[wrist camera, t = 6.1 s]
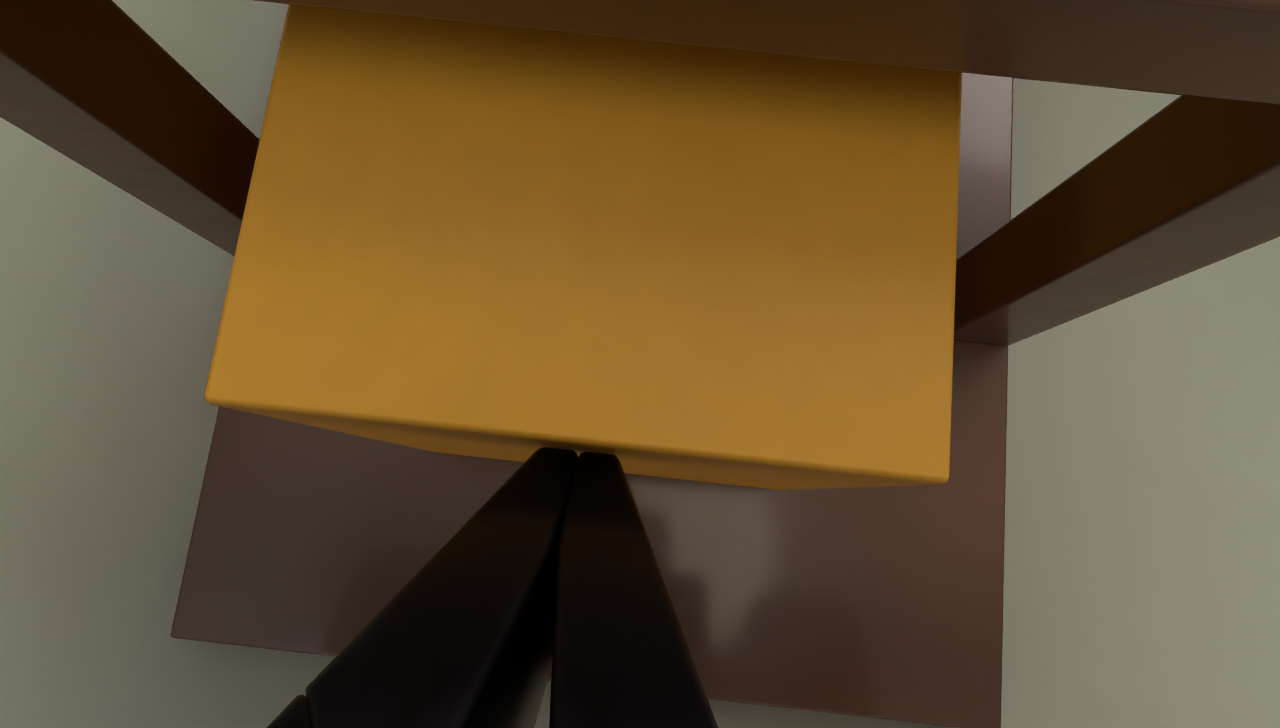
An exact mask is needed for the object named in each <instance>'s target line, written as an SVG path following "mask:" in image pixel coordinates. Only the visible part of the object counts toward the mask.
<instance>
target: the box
mask: <svg viewBox="0 0 1280 728" xmlns="http://www.w3.org/2000/svg"><path fill="white" fill-rule="evenodd" d="M961 98H962V73H961V72H951V71H941V70H932V69H922V68H912V67H902V66H892V65H883V64H873V63H863V62H853V61H843V60H834V59H824V58H814V57H804V56H794V55H785V54H775V53H765V52H755V51H745V50H736V49H726V48H716V47H706V46H696V45H686V44H677V43H667V42H657V41H647V40H637V39H628V38H618V37H608V36H598V35H588V34H579V33H569V32H559V31H549V30H539V29H530V28H520V27H510V26H500V25H490V24H481V23H471V22H461V21H451V20H441V19H432V18H422V17H412V16H402V15H392V14H383V13H373V12H363V11H353V10H343V9H334V8H324V7H314V6H304V5H294V4H289V7H288V12H287V17H286V21H285V26H284V30H283V35H282V40H281V44H280V49H279V53H278V58H277V63H276V67H275V72H274V77H273V81H272V86H271V90H270V95H269V100H268V104H267V109H266V113H265V118H264V123H263V127H262V132H261V136H260V141H259V146H258V150H257V155H256V160H255V164H254V169H253V173H252V178H251V183H250V187H249V192H248V196H247V201H246V206H245V210H244V215H243V220H242V224H241V229H240V233H239V238H238V243H237V247H236V252H235V256H234V261H233V266H232V270H231V275H230V280H229V284H228V289H227V293H226V298H225V303H224V307H223V312H222V316H221V321H220V326H219V330H218V335H217V339H216V344H215V349H214V353H213V358H212V363H211V367H210V372H209V376H208V381H207V386H206V390H205V400H206V401H207V402H208V403H210V404H212V405H216V406H221V407H226V408H231V409H235V410H240V411H245V412H249V413H254V414H259V415H263V416H268V417H273V418H277V419H282V420H287V421H292V422H296V423H301V424H306V425H310V426H315V427H320V428H324V429H329V430H334V431H338V432H343V433H348V434H352V435H357V436H362V437H367V438H371V439H376V440H381V441H385V442H390V443H395V444H399V445H404V446H409V447H413V448H418V449H423V450H427V451H432V452H437V453H446V454H455V455H464V456H473V457H483V458H492V459H501V460H510V461H519V462H526V461H527V460H528V459H529V458H530V457H531V455H532V454H533V453H534V452H535V451H536V450H538V449H539V448H541V447H552V448H561V449H570V450H574V451H575V452H576V453H577V455H578V456H579V455H580V454H581V453H582V452H584V451H588V452H597V453H606V454H613V455H616V456H617V457H618V459H619V460H620V462H621V465H622V468H623V470H624V473H628V474H637V475H646V476H655V477H664V478H673V479H683V480H692V481H701V482H710V483H719V484H728V485H737V486H746V487H755V488H764V489H773V490H791V489H820V488H849V487H878V486H907V485H936V484H943V483H946V482H947V481H948V478H949V464H950V434H951V403H952V373H953V342H954V312H955V281H956V251H957V220H958V190H959V159H960V129H961Z"/></svg>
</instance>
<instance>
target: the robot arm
mask: <svg viewBox="0 0 1280 728" xmlns="http://www.w3.org/2000/svg"><path fill="white" fill-rule="evenodd" d="M551 664H552V677H551V701H550V726H549V728H718V727H717V724H716V721H715V718H714V716H713V713H712V710H711V708H710V705H709V702H708V699H707V697H706V694H705V691H704V688H703V686H702V683H701V680H700V678H699V675H698V672H697V669H696V667H695V664H694V661H693V659H692V656H691V653H690V650H689V648H688V645H687V642H686V639H685V637H684V634H683V631H682V629H681V626H680V623H679V620H678V618H677V615H676V612H675V609H674V607H673V604H672V601H671V599H670V596H669V593H668V590H667V588H666V585H665V582H664V579H663V577H662V574H661V571H660V569H659V566H658V563H657V560H656V558H655V555H654V552H653V550H652V547H651V544H650V541H649V539H648V536H647V533H646V530H645V528H644V525H643V522H642V520H641V517H640V514H639V511H638V509H637V506H636V503H635V500H634V498H633V495H632V492H631V490H630V487H629V484H628V481H627V479H626V476H625V473H624V470H623V468H622V465H621V462H620V460H619V459H618V457H617V456H616V455H613V454H606V453H597V452H588V451H584V452H582V453H581V454H580V455H579V456H578V455H577V453H576V452H575V451H574V450H570V449H561V448H552V447H541V448H539V449H538V450H536V451H535V452H534V453H533V454H532V455H531V457H530V458H529V459H528V460H527V461H526V462H525V463H524V464H523V465H522V466H521V467H520V468H519V469H518V470H517V471H516V472H515V473H514V474H513V475H512V476H511V477H510V478H509V479H508V480H507V481H506V482H505V483H504V484H503V485H502V486H501V487H500V488H499V489H498V490H497V492H496V493H495V494H494V495H493V496H492V497H491V498H490V499H489V500H488V501H487V502H486V503H485V504H484V505H483V506H482V507H481V508H480V509H479V510H478V511H477V512H476V513H475V514H474V515H473V516H472V517H471V518H470V519H469V520H468V521H467V522H466V523H465V524H464V525H463V526H462V528H461V529H460V530H459V531H458V532H457V533H456V534H455V535H454V536H453V537H452V538H451V539H450V540H449V541H448V542H447V543H446V544H445V545H444V546H443V547H442V548H441V549H440V550H439V551H438V552H437V553H436V554H435V555H434V556H433V557H432V558H431V559H430V560H429V561H428V563H427V564H426V565H425V566H424V567H423V568H422V569H421V570H420V571H419V572H418V573H417V574H416V575H415V576H414V577H413V578H412V579H411V580H410V581H409V582H408V583H407V584H406V585H405V586H404V587H403V588H402V589H401V590H400V591H399V592H398V593H397V594H396V595H395V596H394V597H393V599H392V600H391V601H390V602H389V603H388V604H387V605H386V606H385V607H384V608H383V609H382V610H381V611H380V612H379V613H378V614H377V615H376V616H375V617H374V618H373V619H372V620H371V621H370V622H369V623H368V624H367V625H366V626H365V627H364V628H363V629H362V630H361V631H360V632H359V633H358V635H357V636H356V637H355V638H354V639H353V640H352V641H351V642H350V643H349V644H348V645H347V646H346V647H345V648H344V649H343V650H342V651H341V652H340V653H339V654H338V655H337V656H336V657H335V658H334V659H333V660H332V661H331V662H330V663H329V664H328V665H327V666H326V667H325V668H324V670H323V671H322V672H321V673H320V674H319V675H318V676H317V677H316V678H315V679H314V680H313V681H312V682H311V683H310V684H309V685H308V686H307V687H306V690H305V691H306V696H304V695H298V696H297V697H296V698H295V699H294V700H293V701H292V702H291V703H290V704H289V705H288V706H287V707H286V708H285V709H284V710H283V711H282V712H281V713H280V714H279V715H278V716H277V717H276V718H275V719H274V720H273V722H272V723H271V724H270V725H269V726H268V727H267V728H534V726H535V722H536V719H537V715H538V712H539V708H540V704H541V701H542V697H543V694H544V690H545V687H546V683H547V680H548V676H549V672H550V668H551Z"/></svg>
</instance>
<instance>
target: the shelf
mask: <svg viewBox="0 0 1280 728" xmlns="http://www.w3.org/2000/svg"><path fill="white" fill-rule="evenodd" d="M255 1H265V2H275V3H285V4H294V5H304V6H314V7H324V8H334V9H343V10H353V11H363V12H373V13H383V14H392V15H402V16H412V17H422V18H432V19H441V20H451V21H461V22H471V23H481V24H490V25H500V26H510V27H520V28H530V29H539V30H549V31H559V32H569V33H579V34H588V35H598V36H608V37H618V38H628V39H637V40H647V41H657V42H667V43H677V44H686V45H696V46H706V47H716V48H726V49H736V50H745V51H755V52H765V53H775V54H785V55H794V56H804V57H814V58H824V59H834V60H843V61H853V62H863V63H873V64H883V65H892V66H902V67H912V68H922V69H932V70H941V71H951V72H961V73H962V98H961V129H960V159H959V190H958V220H957V251H956V281H955V312H954V342H953V373H952V403H951V434H950V464H949V478H948V481H947V482H946V483H943V484H936V485H907V486H878V487H849V488H820V489H791V490H773V489H764V488H755V487H746V486H737V485H728V484H719V483H710V482H701V481H692V480H683V479H673V478H664V477H655V476H646V475H637V474H628V473H625V476H626V479H627V481H628V484H629V487H630V490H631V492H632V495H633V498H634V500H635V503H636V506H637V509H638V511H639V514H640V517H641V520H642V522H643V525H644V528H645V530H646V533H647V536H648V539H649V541H650V544H651V547H652V550H653V552H654V555H655V558H656V560H657V563H658V566H659V569H660V571H661V574H662V577H663V579H664V582H665V585H666V588H667V590H668V593H669V596H670V599H671V601H672V604H673V607H674V609H675V612H676V615H677V618H678V620H679V623H680V626H681V629H682V631H683V634H684V637H685V639H686V642H687V645H688V648H689V650H690V653H691V656H692V659H693V661H694V664H695V667H696V669H697V672H698V675H699V678H700V680H701V683H702V686H703V688H704V691H705V694H706V697H707V699H714V700H723V701H732V702H740V703H749V704H758V705H767V706H775V707H784V708H793V709H802V710H811V711H819V712H828V713H837V714H846V715H854V716H863V717H872V718H881V719H889V720H898V721H907V722H916V723H925V724H933V725H942V726H951V727H960V728H1001V686H1002V634H1003V582H1004V530H1005V479H1006V427H1007V375H1008V345H1011V344H1013V343H1016V342H1018V341H1021V340H1023V339H1026V338H1028V337H1031V336H1033V335H1035V334H1038V333H1040V332H1043V331H1045V330H1048V329H1050V328H1053V327H1055V326H1058V325H1060V324H1063V323H1065V322H1068V321H1070V320H1073V319H1075V318H1078V317H1080V316H1083V315H1085V314H1088V313H1090V312H1093V311H1095V310H1098V309H1100V308H1103V307H1105V306H1108V305H1110V304H1113V303H1115V302H1118V301H1120V300H1123V299H1125V298H1128V297H1130V296H1133V295H1135V294H1138V293H1140V292H1143V291H1145V290H1148V289H1150V288H1153V287H1155V286H1158V285H1160V284H1163V283H1165V282H1168V281H1170V280H1173V279H1175V278H1178V277H1180V276H1183V275H1185V274H1188V273H1190V272H1193V271H1195V270H1198V269H1200V268H1203V267H1205V266H1208V265H1210V264H1213V263H1215V262H1218V261H1220V260H1222V259H1225V258H1227V257H1230V256H1232V255H1235V254H1237V253H1240V252H1242V251H1245V250H1247V249H1250V248H1252V247H1255V246H1257V245H1260V244H1262V243H1265V242H1267V241H1270V240H1272V239H1275V238H1277V237H1280V0H255ZM1013 78H1020V79H1030V80H1039V81H1049V82H1059V83H1069V84H1079V85H1088V86H1098V87H1108V88H1118V89H1128V90H1137V91H1147V92H1157V93H1167V94H1177V95H1181V96H1180V97H1178V98H1177V99H1176V100H1174V101H1173V102H1172V103H1170V104H1169V105H1168V106H1166V107H1165V108H1163V109H1162V110H1161V111H1159V112H1158V113H1157V114H1155V115H1154V116H1153V117H1151V118H1150V119H1148V120H1147V121H1146V122H1144V123H1143V124H1142V125H1140V126H1139V127H1138V128H1136V129H1135V130H1133V131H1132V132H1131V133H1129V134H1128V135H1127V136H1125V137H1124V138H1122V139H1121V140H1120V141H1118V142H1117V143H1116V144H1114V145H1113V146H1112V147H1110V148H1109V149H1107V150H1106V151H1105V152H1103V153H1102V154H1101V155H1099V156H1098V157H1097V158H1095V159H1094V160H1092V161H1091V162H1090V163H1088V164H1087V165H1086V166H1084V167H1083V168H1082V169H1080V170H1079V171H1077V172H1076V173H1075V174H1073V175H1072V176H1071V177H1069V178H1068V179H1066V180H1065V181H1064V182H1062V183H1061V184H1060V185H1058V186H1057V187H1056V188H1054V189H1053V190H1051V191H1050V192H1049V193H1047V194H1046V195H1045V196H1043V197H1042V198H1041V199H1039V200H1038V201H1036V202H1035V203H1034V204H1032V205H1031V206H1030V207H1028V208H1027V209H1025V210H1024V211H1023V212H1021V213H1020V214H1019V215H1017V216H1016V217H1015V218H1013V219H1012V220H1010V219H1011V167H1012V115H1013ZM0 117H1V118H3V119H5V120H6V121H8V122H10V123H11V124H13V125H15V126H16V127H18V128H20V129H22V130H23V131H25V132H27V133H28V134H30V135H32V136H33V137H35V138H37V139H38V140H40V141H42V142H43V143H45V144H47V145H48V146H50V147H52V148H53V149H55V150H57V151H58V152H60V153H62V154H64V155H65V156H67V157H69V158H70V159H72V160H74V161H75V162H77V163H79V164H80V165H82V166H84V167H85V168H87V169H89V170H90V171H92V172H94V173H95V174H97V175H99V176H101V177H102V178H104V179H106V180H107V181H109V182H111V183H112V184H114V185H116V186H117V187H119V188H121V189H122V190H124V191H126V192H127V193H129V194H131V195H132V196H134V197H136V198H138V199H139V200H141V201H143V202H144V203H146V204H148V205H149V206H151V207H153V208H154V209H156V210H158V211H159V212H161V213H163V214H164V215H166V216H168V217H169V218H171V219H173V220H174V221H176V222H178V223H180V224H181V225H183V226H185V227H186V228H188V229H190V230H191V231H193V232H195V233H196V234H198V235H200V236H201V237H203V238H205V239H206V240H208V241H210V242H211V243H213V244H215V245H217V246H218V247H220V248H222V249H223V250H225V251H227V252H228V253H230V254H232V255H233V256H235V252H236V247H237V243H238V238H239V233H240V229H241V224H242V220H243V215H244V210H245V206H246V201H247V196H248V192H249V187H250V183H251V178H252V173H253V169H254V164H255V160H256V155H257V150H258V146H259V141H260V140H259V139H258V138H257V137H256V136H255V135H254V134H253V133H252V132H251V131H250V130H249V129H248V128H247V127H246V126H244V125H243V124H242V123H241V122H240V121H239V120H238V119H237V118H236V117H235V116H234V115H233V114H232V113H231V112H230V111H229V110H228V109H226V108H225V107H224V106H223V105H222V104H221V103H220V102H219V101H218V100H217V99H216V98H215V97H214V96H213V95H212V94H211V93H209V92H208V91H207V90H206V89H205V88H204V87H203V86H202V85H201V84H200V83H199V82H198V81H197V80H196V79H195V78H194V77H193V76H191V75H190V74H189V73H188V72H187V71H186V70H185V69H184V68H183V67H182V66H181V65H180V64H179V63H178V62H177V61H176V60H175V59H173V58H172V57H171V56H170V55H169V54H168V53H167V52H166V51H165V50H164V49H163V48H162V47H161V46H160V45H159V44H158V43H157V42H155V41H154V40H153V39H152V38H151V37H150V36H149V35H148V34H147V33H146V32H145V31H144V30H143V29H142V28H141V27H140V26H139V25H137V24H136V23H135V22H134V21H133V20H132V19H131V18H130V17H129V16H128V15H127V14H126V13H125V12H124V11H123V10H122V9H121V8H119V7H118V6H117V5H116V4H115V3H114V2H113V1H112V0H0ZM524 463H525V462H519V461H510V460H501V459H492V458H483V457H473V456H464V455H455V454H446V453H437V452H432V451H427V450H423V449H418V448H413V447H409V446H404V445H399V444H395V443H390V442H385V441H381V440H376V439H371V438H367V437H362V436H357V435H352V434H348V433H343V432H338V431H334V430H329V429H324V428H320V427H315V426H310V425H306V424H301V423H296V422H292V421H287V420H282V419H277V418H273V417H268V416H263V415H259V414H254V413H249V412H245V411H240V410H235V409H231V408H226V407H221V406H219V410H218V414H217V419H216V424H215V428H214V433H213V438H212V442H211V447H210V452H209V457H208V461H207V466H206V471H205V475H204V480H203V485H202V490H201V494H200V499H199V504H198V508H197V513H196V518H195V522H194V527H193V532H192V537H191V541H190V546H189V551H188V555H187V560H186V565H185V569H184V574H183V579H182V584H181V588H180V593H179V598H178V602H177V607H176V612H175V617H174V621H173V626H172V631H171V637H173V638H179V639H188V640H197V641H206V642H214V643H223V644H232V645H241V646H249V647H258V648H267V649H276V650H285V651H293V652H302V653H311V654H320V655H328V656H337V655H338V654H339V653H340V652H341V651H342V650H343V649H344V648H345V647H346V646H347V645H348V644H349V643H350V642H351V641H352V640H353V639H354V638H355V637H356V636H357V635H358V633H359V632H360V631H361V630H362V629H363V628H364V627H365V626H366V625H367V624H368V623H369V622H370V621H371V620H372V619H373V618H374V617H375V616H376V615H377V614H378V613H379V612H380V611H381V610H382V609H383V608H384V607H385V606H386V605H387V604H388V603H389V602H390V601H391V600H392V599H393V597H394V596H395V595H396V594H397V593H398V592H399V591H400V590H401V589H402V588H403V587H404V586H405V585H406V584H407V583H408V582H409V581H410V580H411V579H412V578H413V577H414V576H415V575H416V574H417V573H418V572H419V571H420V570H421V569H422V568H423V567H424V566H425V565H426V564H427V563H428V561H429V560H430V559H431V558H432V557H433V556H434V555H435V554H436V553H437V552H438V551H439V550H440V549H441V548H442V547H443V546H444V545H445V544H446V543H447V542H448V541H449V540H450V539H451V538H452V537H453V536H454V535H455V534H456V533H457V532H458V531H459V530H460V529H461V528H462V526H463V525H464V524H465V523H466V522H467V521H468V520H469V519H470V518H471V517H472V516H473V515H474V514H475V513H476V512H477V511H478V510H479V509H480V508H481V507H482V506H483V505H484V504H485V503H486V502H487V501H488V500H489V499H490V498H491V497H492V496H493V495H494V494H495V493H496V492H497V490H498V489H499V488H500V487H501V486H502V485H503V484H504V483H505V482H506V481H507V480H508V479H509V478H510V477H511V476H512V475H513V474H514V473H515V472H516V471H517V470H518V469H519V468H520V467H521V466H522V465H523V464H524ZM551 677H552V664H551V668H550V672H549V676H548V681H551Z"/></svg>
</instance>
